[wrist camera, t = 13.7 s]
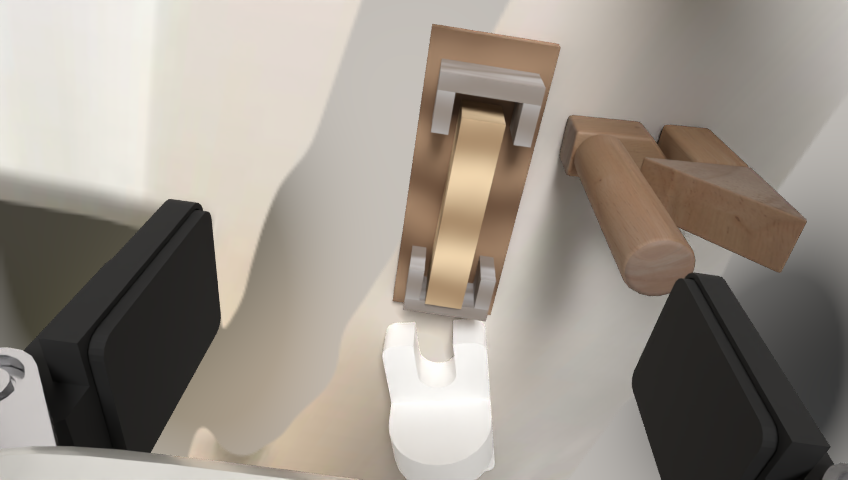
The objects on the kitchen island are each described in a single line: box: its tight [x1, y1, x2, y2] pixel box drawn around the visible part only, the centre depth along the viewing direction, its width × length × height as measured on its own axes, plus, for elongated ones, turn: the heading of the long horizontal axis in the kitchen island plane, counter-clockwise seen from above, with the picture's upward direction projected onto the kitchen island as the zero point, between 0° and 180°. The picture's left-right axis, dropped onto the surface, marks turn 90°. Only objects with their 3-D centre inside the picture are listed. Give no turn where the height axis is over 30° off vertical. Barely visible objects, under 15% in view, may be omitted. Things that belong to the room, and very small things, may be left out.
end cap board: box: [393, 24, 561, 321], centre depth 44 cm, size 24×9×4 cm, turn 172°
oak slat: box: [425, 99, 506, 309], centre depth 44 cm, size 16×3×4 cm, turn 171°
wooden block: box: [560, 115, 807, 296], centre depth 36 cm, size 4×11×18 cm, turn 85°
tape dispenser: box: [382, 319, 495, 480], centre depth 54 cm, size 10×18×11 cm, turn 6°
